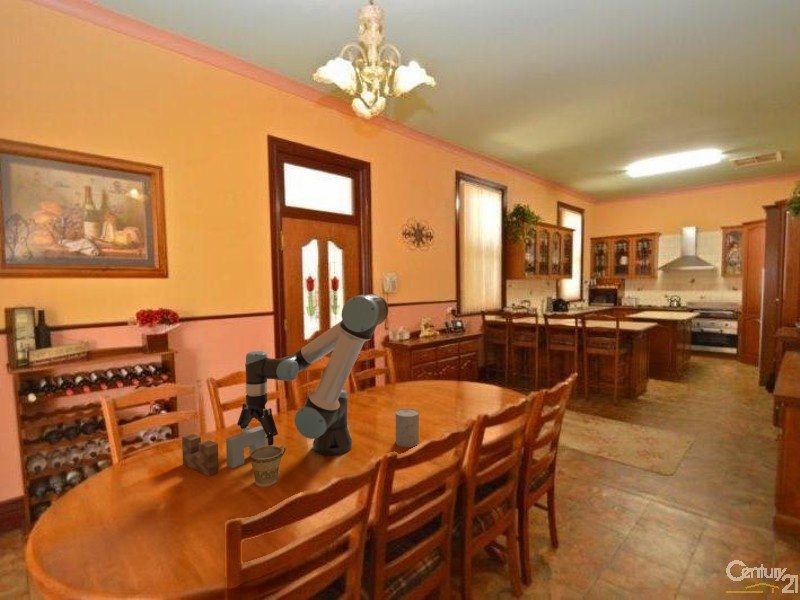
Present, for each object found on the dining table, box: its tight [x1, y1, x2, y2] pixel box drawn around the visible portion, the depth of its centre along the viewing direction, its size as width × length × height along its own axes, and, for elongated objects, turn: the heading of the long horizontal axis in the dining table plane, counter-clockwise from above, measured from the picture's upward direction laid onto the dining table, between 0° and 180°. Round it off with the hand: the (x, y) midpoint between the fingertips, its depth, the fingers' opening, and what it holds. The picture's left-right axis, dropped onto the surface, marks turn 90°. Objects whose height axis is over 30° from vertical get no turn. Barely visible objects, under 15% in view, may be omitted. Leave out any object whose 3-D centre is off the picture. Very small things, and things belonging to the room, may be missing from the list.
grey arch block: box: [225, 425, 267, 469], centre depth 146 cm, size 4×14×10 cm, turn 147°
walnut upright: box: [181, 433, 220, 477], centre depth 139 cm, size 16×4×10 cm, turn 57°
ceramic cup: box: [249, 445, 287, 488], centre depth 131 cm, size 13×10×10 cm
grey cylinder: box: [395, 408, 420, 448], centre depth 161 cm, size 10×10×12 cm
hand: (257, 449), depth 150 cm, fingers open, 13 cm apart
